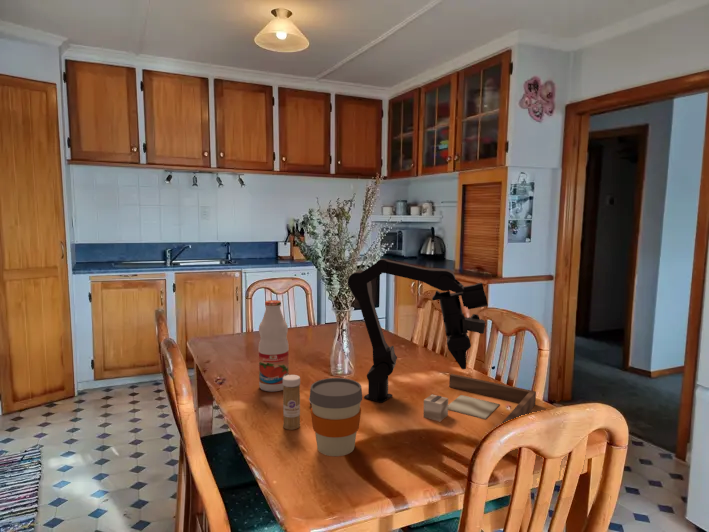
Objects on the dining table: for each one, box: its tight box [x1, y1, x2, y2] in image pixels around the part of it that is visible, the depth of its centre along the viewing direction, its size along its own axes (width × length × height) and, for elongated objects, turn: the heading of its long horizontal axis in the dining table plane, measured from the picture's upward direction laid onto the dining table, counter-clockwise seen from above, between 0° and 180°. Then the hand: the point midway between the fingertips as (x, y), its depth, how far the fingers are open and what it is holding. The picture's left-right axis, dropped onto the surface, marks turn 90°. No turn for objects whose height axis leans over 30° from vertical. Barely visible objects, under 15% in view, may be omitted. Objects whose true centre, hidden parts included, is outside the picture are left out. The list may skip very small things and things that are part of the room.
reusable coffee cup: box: [309, 377, 363, 457], centre depth 113 cm, size 13×12×15 cm
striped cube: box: [423, 394, 449, 422], centre depth 132 cm, size 5×5×5 cm
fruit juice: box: [258, 299, 290, 393], centre depth 152 cm, size 9×9×28 cm
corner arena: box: [448, 373, 537, 425], centre depth 136 cm, size 28×26×4 cm
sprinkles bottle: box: [282, 374, 301, 431], centre depth 124 cm, size 5×5×14 cm
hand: (462, 364), depth 138 cm, fingers open, 9 cm apart
